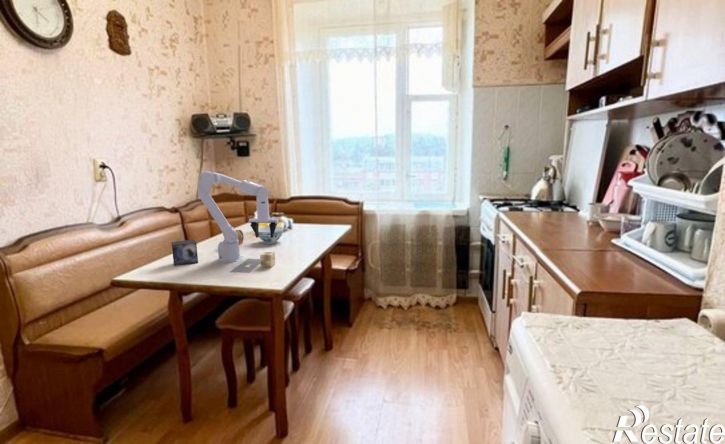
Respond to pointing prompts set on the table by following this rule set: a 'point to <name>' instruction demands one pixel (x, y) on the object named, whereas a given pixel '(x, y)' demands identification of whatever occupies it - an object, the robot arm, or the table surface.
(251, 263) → the grey plate
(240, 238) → the tin
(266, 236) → the chinaware
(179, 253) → the small box
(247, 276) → the table surface
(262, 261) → the maple block
